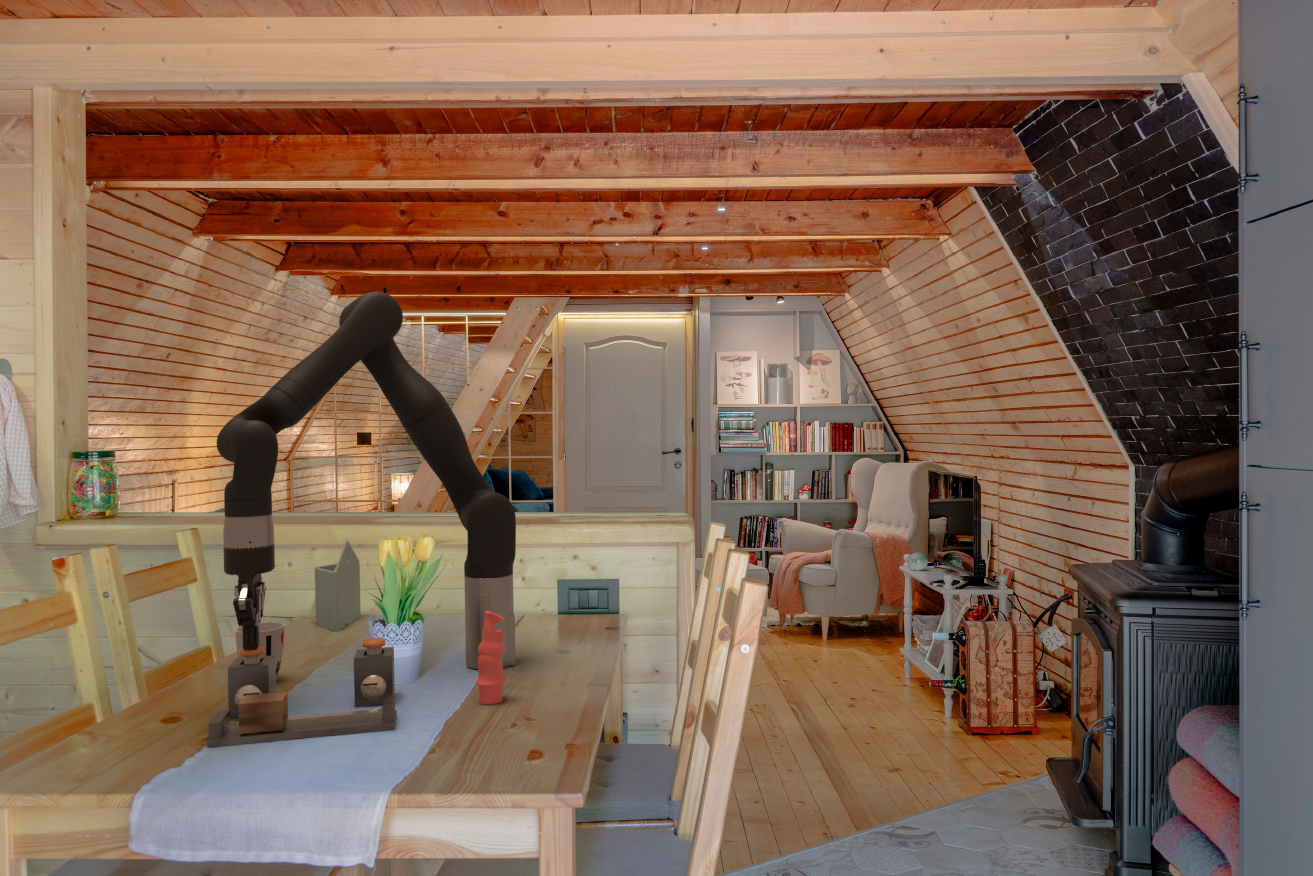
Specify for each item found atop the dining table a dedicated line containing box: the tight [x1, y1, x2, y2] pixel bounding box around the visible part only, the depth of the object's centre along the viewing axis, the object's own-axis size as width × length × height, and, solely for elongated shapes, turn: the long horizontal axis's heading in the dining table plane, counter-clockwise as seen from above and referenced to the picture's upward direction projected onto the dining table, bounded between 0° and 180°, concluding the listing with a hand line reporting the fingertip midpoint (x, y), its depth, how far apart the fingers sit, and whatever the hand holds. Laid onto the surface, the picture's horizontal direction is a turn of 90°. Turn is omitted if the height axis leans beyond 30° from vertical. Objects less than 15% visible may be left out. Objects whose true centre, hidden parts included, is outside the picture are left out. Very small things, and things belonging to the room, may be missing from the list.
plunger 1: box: [240, 646, 264, 664], centre depth 142 cm, size 4×4×4 cm
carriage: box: [238, 691, 289, 734], centre depth 130 cm, size 6×4×4 cm
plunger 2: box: [362, 637, 386, 655], centre depth 146 cm, size 4×4×4 cm
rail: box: [206, 694, 398, 748], centre depth 131 cm, size 26×6×3 cm, turn 104°
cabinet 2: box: [353, 646, 396, 708], centre depth 146 cm, size 6×6×8 cm
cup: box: [234, 621, 285, 681], centre depth 158 cm, size 8×8×10 cm
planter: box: [314, 539, 361, 633], centre depth 204 cm, size 16×8×20 cm, turn 1°
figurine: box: [475, 611, 506, 705], centre depth 145 cm, size 5×5×15 cm
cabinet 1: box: [227, 655, 277, 719], centre depth 141 cm, size 6×6×8 cm
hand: (251, 649), depth 142 cm, fingers closed
